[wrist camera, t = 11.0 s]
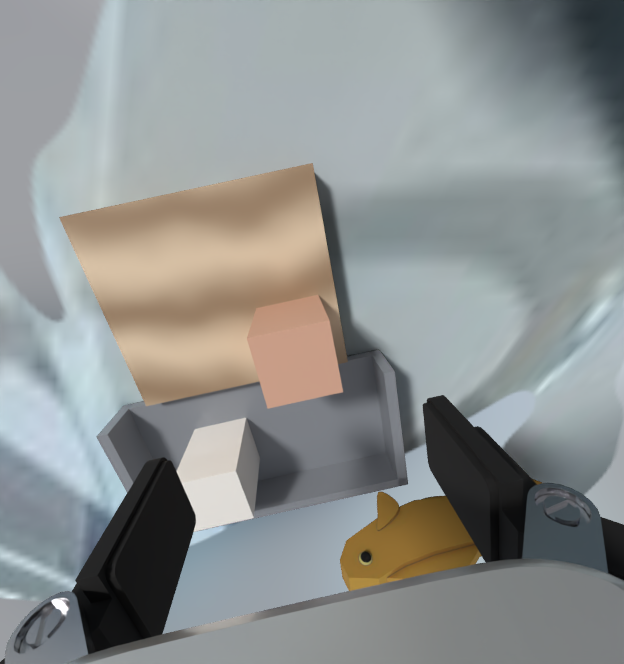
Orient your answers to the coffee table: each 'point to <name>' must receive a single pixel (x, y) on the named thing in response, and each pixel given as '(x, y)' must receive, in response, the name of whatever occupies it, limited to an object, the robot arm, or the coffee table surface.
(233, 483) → the cream block
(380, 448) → the box
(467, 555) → the decorative fish
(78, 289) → the coffee table surface
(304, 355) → the terracotta block
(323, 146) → the coffee table surface
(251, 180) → the board
